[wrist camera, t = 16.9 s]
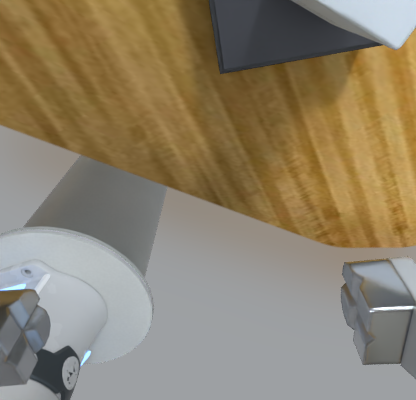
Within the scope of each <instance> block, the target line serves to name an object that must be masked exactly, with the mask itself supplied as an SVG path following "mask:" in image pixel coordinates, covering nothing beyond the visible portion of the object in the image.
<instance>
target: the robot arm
mask: <svg viewBox="0 0 416 400" xmlns="http://www.w3.org/2000/svg"><path fill="white" fill-rule="evenodd" d="M342 275H343V277H344V280H345V282H346V283H345V284H344V285H343V286H342V287H341V303H342V310H343V313H344V317H345V319H346V323H347V325H348V326H349V327H351V328H352V329H353V330H354V338H353V341H354V343H355V346H356V349H357V351H358V354H359V356H360V359H361V361H362V364H363V365H369V364H400V363H401V366H402V367H403V368H404V369H405V370H406V371H407V372H408V373H410V374H411V375H412V376H413V377H414V378H415V379H416V264H415V262H414V261H413V259H412V258H410V257H408V256H407V257H396V258H387V259H377V260H367V261H356V262H345V263H344V266H343V273H342ZM107 318H108V310H107V306H106V304H105V302H104V300H103V298H102V297H101V296H100V294H99V293H98V292H97V291H96V290H95V289H94V288H92V287H91V286H90V285H88V284H87V283H85V282H84V281H82V280H80V279H78V278H76V277H73V276H70V275H67V274H64V273H61V272H59V271H56V270H55V269H53V268H52V267H50V266H49V265H47V264H46V263H44V262H42V261H40V260H36V259H33V260H29V261H26V262H23V263H20V264H16V265H13V266H10V267H7V268H4V269H1V270H0V400H70V398H71V396H72V393H73V390H74V387H75V385H76V382H77V378H78V375H79V370H80V366H81V365H82V364H83V363H84V361H85V360H86V359H87V358H88V357H89V355H90V352H91V351H88V349H89V348H90V346H91V344H92V343H93V341H94V339H95V338H96V336H97V335H98V333H99V332H100V331H101V329H102V328H103V327H104V325H105V324H106V321H107ZM87 351H88V352H87ZM86 353H87V354H86Z"/></svg>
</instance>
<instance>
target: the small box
mask: <svg viewBox="0 0 416 400" xmlns="http://www.w3.org/2000/svg"><path fill="white" fill-rule="evenodd" d="M291 1H293V2H295V3H296V4H298V5H300V6H302V7H303V8H305V9H307V10H308V11H310V12H312V13H313V14H315V15H317V16H319V17H320V18H322V19H324V20H325V21H327V22H329V23H331V24H333V25H335V26H337V27H340V28H342V29H345V30H347V31H350V32H352V33H355V34H358V35H360V36H363V37H365V38H368V39H370V40H373V41H375V42H378V43H380V44H383V45H385V46H387V47H389V48H392V49H394V50H397V49H399V48H400V47H401V46H402V45H403V44H404V42H405V41H406V40H407V38H408V37H409V36H410V34H411V33H412V32H413V30H414V29H415V27H416V0H291Z"/></svg>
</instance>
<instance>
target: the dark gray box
mask: <svg viewBox="0 0 416 400" xmlns="http://www.w3.org/2000/svg"><path fill="white" fill-rule="evenodd" d="M209 5H210V12H211V18H212V25H213V31H214V38H215V44H216V51H217V57H218V64H219V70H220V74H224V73H229V72H235V71H240V70H246V69H252V68H257V67H263V66H268V65H274V64H280V63H285V62H291V61H297V60H302V59H308V58H313V57H319V56H325V55H330V54H336V53H341V52H347V51H353V50H358V49H364V48H369V47H375V46H381V45H383V44H380V43H378V42H375V41H373V40H370V39H368V38H365V37H363V36H360V35H358V34H355V33H352V32H350V31H347V30H345V29H342V28H340V27H337V26H335V25H333V24H331V23H329V22H327V21H325V20H324V19H322V18H320V17H319V16H317V15H315V14H313V13H312V12H310V11H308V10H307V9H305V8H303V7H302V6H300V5H298V4H296V3H295V2H293V1H291V0H209Z"/></svg>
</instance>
